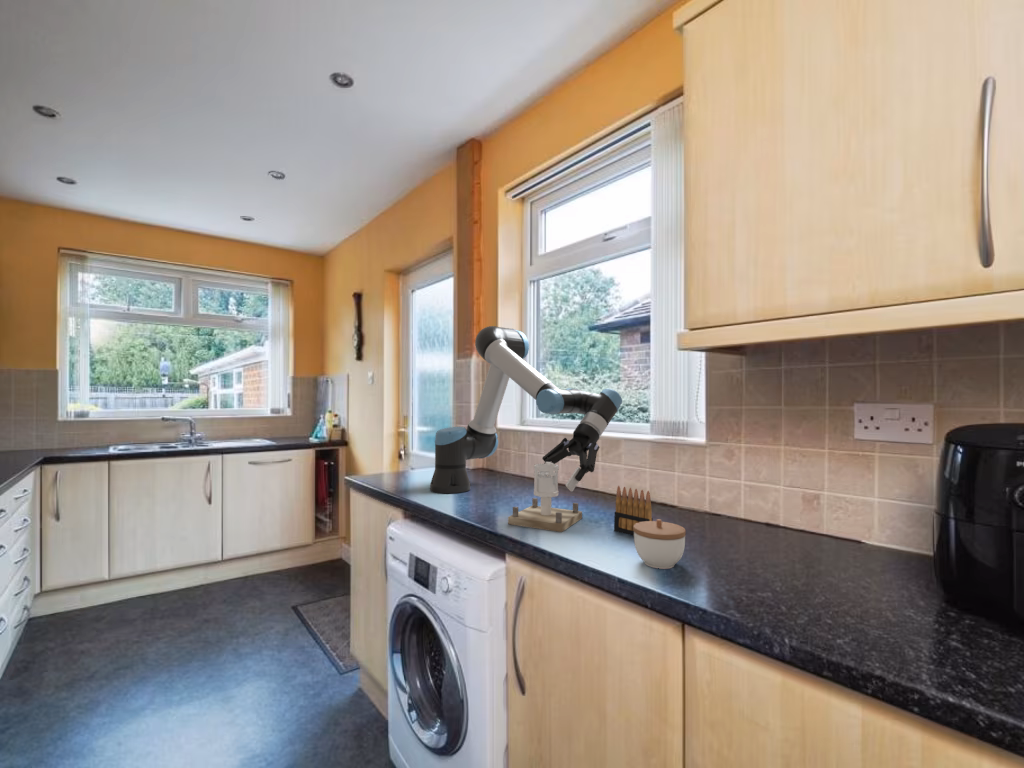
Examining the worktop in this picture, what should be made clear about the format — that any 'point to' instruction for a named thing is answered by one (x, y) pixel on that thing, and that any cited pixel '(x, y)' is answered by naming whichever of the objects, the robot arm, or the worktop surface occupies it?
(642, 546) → the lidded jar
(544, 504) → the white stemmed cylinder
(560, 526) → the board
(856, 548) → the worktop surface
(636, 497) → the ammunition clip
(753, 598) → the worktop surface
